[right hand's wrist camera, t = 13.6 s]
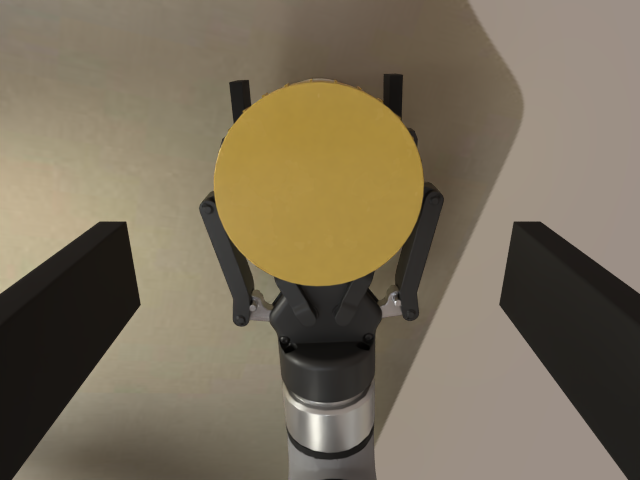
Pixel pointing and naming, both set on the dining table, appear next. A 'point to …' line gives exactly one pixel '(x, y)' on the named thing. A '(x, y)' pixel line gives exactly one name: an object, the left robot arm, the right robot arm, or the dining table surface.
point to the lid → (318, 183)
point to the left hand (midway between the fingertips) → (315, 78)
